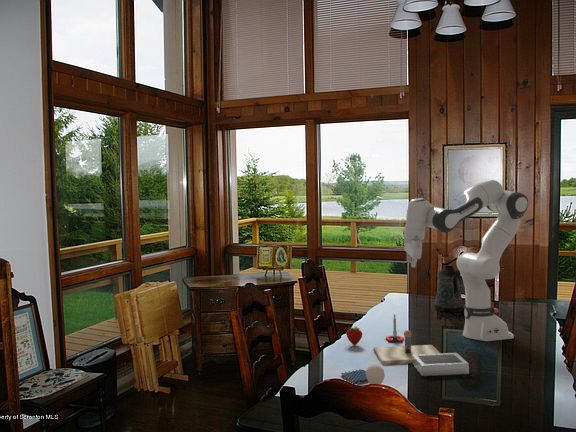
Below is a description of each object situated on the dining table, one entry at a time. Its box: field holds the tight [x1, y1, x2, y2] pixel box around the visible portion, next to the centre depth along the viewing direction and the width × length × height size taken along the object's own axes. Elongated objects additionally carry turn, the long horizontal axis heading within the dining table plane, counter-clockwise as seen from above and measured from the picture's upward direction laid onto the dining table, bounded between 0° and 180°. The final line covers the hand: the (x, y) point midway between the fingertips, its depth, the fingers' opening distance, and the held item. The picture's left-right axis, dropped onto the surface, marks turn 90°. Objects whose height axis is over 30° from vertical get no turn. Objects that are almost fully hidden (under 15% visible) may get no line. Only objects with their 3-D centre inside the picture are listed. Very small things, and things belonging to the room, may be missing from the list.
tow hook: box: [385, 314, 405, 343], centre depth 242 cm, size 8×13×9 cm
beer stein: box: [433, 265, 465, 313], centre depth 297 cm, size 16×19×25 cm
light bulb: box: [365, 364, 386, 385], centre depth 177 cm, size 7×7×11 cm
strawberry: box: [345, 326, 363, 346], centre depth 235 cm, size 6×8×10 cm
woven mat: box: [340, 368, 369, 385], centre depth 194 cm, size 10×11×2 cm
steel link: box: [412, 352, 470, 377], centre depth 201 cm, size 18×13×4 cm
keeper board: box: [373, 329, 441, 366], centre depth 218 cm, size 26×18×11 cm
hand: (410, 264), depth 231 cm, fingers open, 8 cm apart
